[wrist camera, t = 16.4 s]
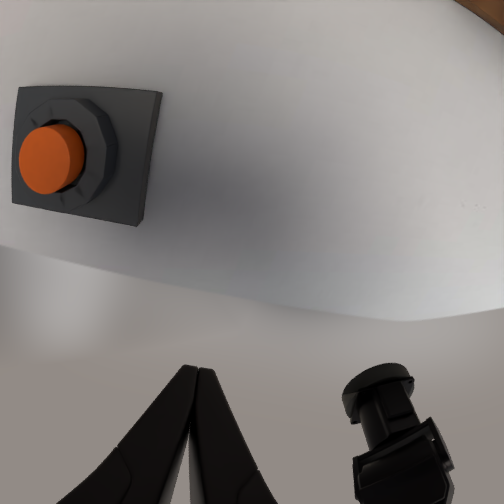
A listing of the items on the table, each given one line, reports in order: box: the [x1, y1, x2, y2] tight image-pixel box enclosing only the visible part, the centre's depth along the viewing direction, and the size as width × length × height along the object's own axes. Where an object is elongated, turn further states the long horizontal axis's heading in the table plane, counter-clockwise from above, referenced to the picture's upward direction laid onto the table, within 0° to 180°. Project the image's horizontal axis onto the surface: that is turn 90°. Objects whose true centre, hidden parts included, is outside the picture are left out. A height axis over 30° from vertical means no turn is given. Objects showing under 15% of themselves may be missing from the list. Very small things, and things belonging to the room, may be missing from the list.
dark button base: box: [12, 86, 163, 227], centre depth 15 cm, size 10×8×3 cm
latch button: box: [19, 124, 85, 194], centre depth 14 cm, size 4×4×2 cm
